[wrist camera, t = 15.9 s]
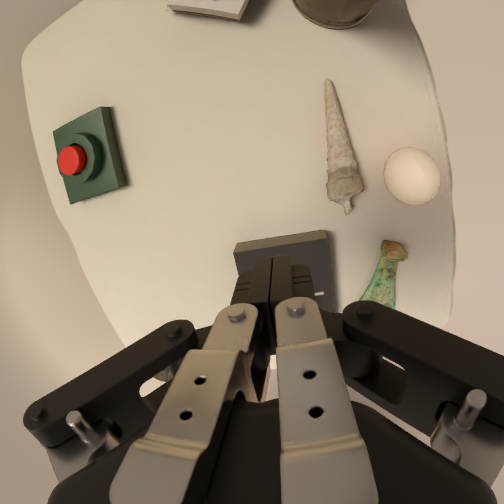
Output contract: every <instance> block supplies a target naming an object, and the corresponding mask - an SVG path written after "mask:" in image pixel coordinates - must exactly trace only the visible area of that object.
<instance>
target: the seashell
mask: <svg viewBox="0 0 504 504" xmlns="http://www.w3.org/2000/svg"><path fill="white" fill-rule="evenodd" d="M325 105H326V124H327V148H328V158H327V161H328V170H327V174H328V182H327V183H326V187H327V196H328V198H329V200H331V201H334V202H337V203H339V204H341V205H342V206H343V207H344V211H345V215H348V214H349V212H350V211H351V209H352V208H353V205H352V203H351V202H350V198H351V197H352V196H353V195H356V194H357V193H360V192H361V191H362V189H363V184H362V180H361V176H360V175H359V173H358V169H357V166H356V165H357V161H355V160H354V155H353V150H352V149H351V146H350V141H349V139H348V136H347V131H346V129H345V124H344V122H343V116H342V113H341V110H340V107H339V102H338V98H337V96H336V93H335V89H334V86H333V83H332V81H331V80H329V79H325Z"/></svg>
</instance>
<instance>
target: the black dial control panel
mask: <svg viewBox="0 0 504 504" xmlns="http://www.w3.org/2000/svg"><path fill="white" fill-rule="evenodd" d="M233 254H234V258H235V262H236V266H237V270H238V274H239V276H240V275H241V274H242V273H243V272H244V271H251V270H253V267H254V262H255V259H257V258H265V257H274V256H279V255H287V254H291V260H292V265H297V264H305V265H307V266H308V267H309V268H310V270H311V276H312V282H313V287H314V293H315V299H316V303H317V305H318V306H319V307H320V308H321V309H323V310H325V311H327V312H332V313H335V312H334V298H333V286H332V274H331V264H330V254H329V244H328V238H327V235H326V233H325V231H324V230H319V231H313V232H306V233H300V234H293V235H287V236H281V237H274V238H268V239H262V240H255V241H249V242H243V243H237V244H236V247H235V250H234V252H233Z"/></svg>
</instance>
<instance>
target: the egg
mask: <svg viewBox="0 0 504 504" xmlns="http://www.w3.org/2000/svg"><path fill="white" fill-rule="evenodd" d="M384 179H385V183H386V186H387V188H388V190H389V191H390V193H391V194H392V195H393V196H394V197H395V198H396V199H398V200H399V201H401V202H403V203H405V204H408V205H421V204H424V203H426V202H428V201H430V200H431V199H432V198H433V197H434V196H435V195H436V193H437V192H438V190H439V187H440V173H439V170H438V167H437V165H436V163H435V162H434V160H433V159H432V158H431V157H430V156H429V155H428V154H427V153H425V152H424V151H422V150H419V149H416V148H403V149H399V150H397V151H396V152H394V153H393V154H392V155H391V156H390V157H389V159H388V160H387V162H386V164H385V169H384Z"/></svg>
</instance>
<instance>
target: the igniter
mask: <svg viewBox="0 0 504 504" xmlns="http://www.w3.org/2000/svg"><path fill="white" fill-rule="evenodd" d="M53 135H54V140H55V145H56V150H57V155H58V156H57V164H58V168H59V172H60V174H61V176H62V177H63V180H64V184H65V187H66V191H67V194H68V198H69V201H70V204H74V203H77V202H79V201H82V200H85V199H88V198H91V197H94V196H97V195H100V194H103V193H106V192H109V191H112V190H115V189H118V188H121V187H123V186H125V185H127V182H126V178H125V175H124V171H123V167H122V163H121V159H120V155H119V150H118V146H117V142H116V137H115V133H114V128H113V123H112V119H111V113H110V108H109V107H98V108H96V109H94V110H92V111H90V112H88V113H86V114H84V115H82V116H80V117H78V118H76V119H75V120H73V121H71V122H69V123H67V124H65V125H64V126H62V127H60V128H58V129H57V130H55V131H53ZM74 145H79V146H81V147H82V148H83V149H84V151H85V153H86V157H87V160H86V165H85V167H84V169H83V170H82V171H81V172H79V173H75V174H72V175H66V174H64V173H63V172H62V171H61V169H60V167H59V155H60V153H61V151H62V150H63V149H64V148H65V147H68V146H74Z"/></svg>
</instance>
